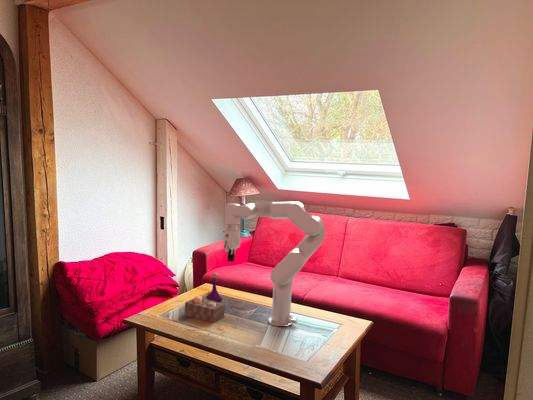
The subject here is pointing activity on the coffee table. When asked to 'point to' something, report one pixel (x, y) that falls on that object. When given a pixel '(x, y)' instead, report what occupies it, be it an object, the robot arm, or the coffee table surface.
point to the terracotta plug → (198, 299)
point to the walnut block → (204, 310)
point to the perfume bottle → (214, 290)
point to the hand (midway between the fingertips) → (230, 261)
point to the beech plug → (212, 304)
